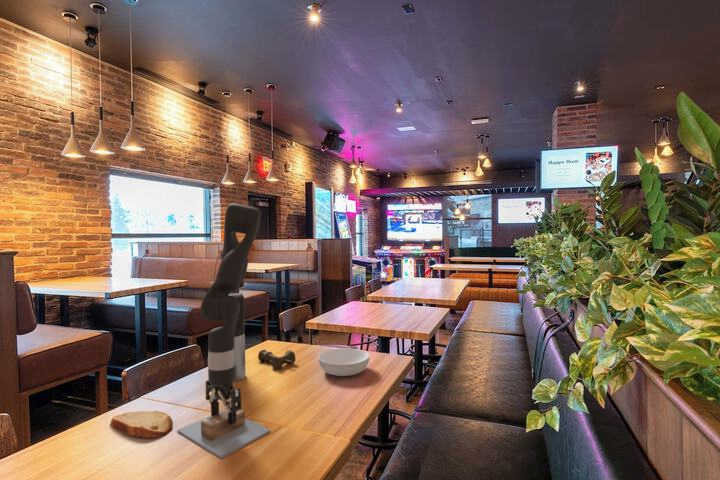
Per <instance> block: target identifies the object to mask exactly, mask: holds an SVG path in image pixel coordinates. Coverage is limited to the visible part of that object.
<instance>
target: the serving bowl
mask: <svg viewBox="0 0 720 480" xmlns="http://www.w3.org/2000/svg"><path fill="white" fill-rule="evenodd" d="M317 357H318V363H319V366H320V368H321V369H322V370H323V371H324V372H325V373H327V374H329V375H333V376H337V377H338V376H339V377H349V376H354V375H357V374H359V373H361V372H363V371H364V370H365V369H366V368H367V367H368V365H369V363H370V353H369V352H367V351H365V350H363V349H357V348H350V347H349V348H347V347H346V348H344V347H343V348H342V347H341V348H334V349H333V348H332V349H329V350H325V351H323V352H321V353H320V354H319V355H318V356H317Z"/></svg>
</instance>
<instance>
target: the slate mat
mask: <svg viewBox="0 0 720 480" xmlns="http://www.w3.org/2000/svg"><path fill="white" fill-rule="evenodd" d="M226 410H227V408H224V409H222V410H219V413H222V412H224V411H226ZM209 417H212V416H211V414H210V415H208V416H206V417H203V418H201V419H199V420H197V421H194V422H192V423H189V424H188V425H186V426H183V427H180V428H178V429H177V431H176V432H177V433H179V434H180V435H181V436H184V437H186V439H189V440H190V441H192V442H193V443H195V444H197V445H198V446H200V447H201V448H203V449H204V450H206V451H208V452H210V453H211V454H213V455H214V456H216V457H218V458H219V459H223V458H226V457H227V456H228V455H229V456H230V455H231V454H232V453H234V452H235V451H238V450H240V449H242V448H244V447H245V446H248V444H251V443H252V442H254V441H256V440H259V439H260V438H262V437H263V436H265V435H267V434H269V433H271V429H269V428H267V427H266V426H264V425H261V424H259V423H257V422H254V421H253V420H251V419H249V418H246V417H245V425H243V426H241V427H239V428H237V429H235V430H233V431H231V432H229V433H227V434H225V435H223V436H221V437H219V438H217V439H214V440H212V441H210V440H208V439H207V438H205V437H203V436H202V435H201V421H203V420H205V419H207V418H209Z"/></svg>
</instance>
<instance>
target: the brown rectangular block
mask: <svg viewBox="0 0 720 480" xmlns="http://www.w3.org/2000/svg"><path fill="white" fill-rule="evenodd" d="M245 418H246V412H245V410H243V409H242V408H241V409H240V410H238V411H236V419H237V420H236V423H235V424H233V425H229V424H228V410H226V411H224V412H222V413H219V414H217V415H215V416H212V417H209V418H207V419H205V420H203V421H201V435H202V436H203V437H205V438H207V439H208V440H210V441H212V440H214V439H217V438H219V437H221V436H223V435H225V434H227V433H229V432H231V431H233V430H235V429H237V428H239V427H241V426H243V425H245Z"/></svg>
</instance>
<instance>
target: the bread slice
mask: <svg viewBox="0 0 720 480" xmlns="http://www.w3.org/2000/svg"><path fill="white" fill-rule="evenodd" d="M173 424H174V422H173V419H172V417H171V416H170V415H169V414H168V413H166V412H163V411H159V410H151V411H149V410H142V411H141V410H138V411H129V412H124V413H121V414H117V415H114V416H113V417H112V418H111V420H110V423H109V425H110V426H111V427H112V428H113V429H114V430H116V431H118V432H121V433H123V434H124V435H128V436H131V437H133V438H134V437H138V438H144V439H157V438H162V437H165V436H167V435H168V434H169V433H171V432H172V430H173Z"/></svg>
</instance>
